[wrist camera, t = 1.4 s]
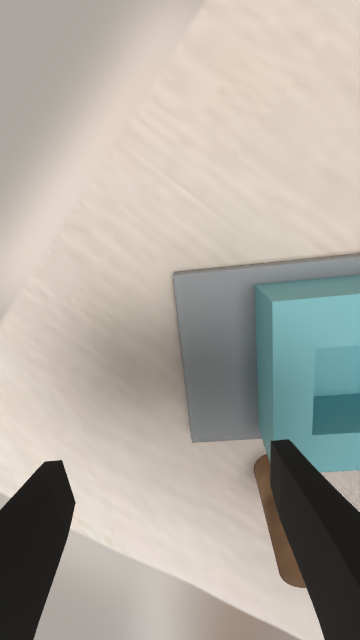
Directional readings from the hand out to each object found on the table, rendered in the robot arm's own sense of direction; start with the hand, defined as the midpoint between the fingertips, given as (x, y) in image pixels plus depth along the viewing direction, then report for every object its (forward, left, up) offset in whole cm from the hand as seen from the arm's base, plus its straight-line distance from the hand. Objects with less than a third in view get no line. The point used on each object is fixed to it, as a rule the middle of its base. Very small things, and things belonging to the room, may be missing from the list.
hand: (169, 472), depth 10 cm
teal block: (-1, -9, -9) cm, 13 cm away
